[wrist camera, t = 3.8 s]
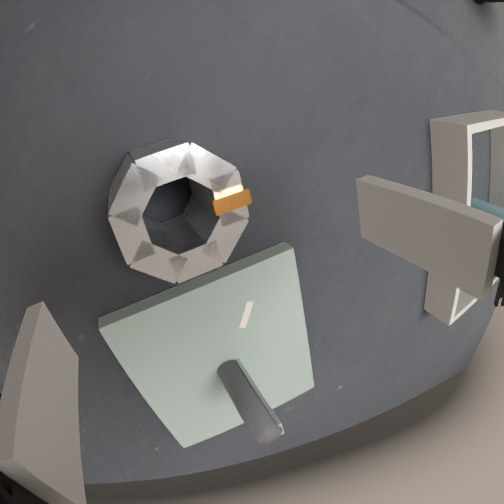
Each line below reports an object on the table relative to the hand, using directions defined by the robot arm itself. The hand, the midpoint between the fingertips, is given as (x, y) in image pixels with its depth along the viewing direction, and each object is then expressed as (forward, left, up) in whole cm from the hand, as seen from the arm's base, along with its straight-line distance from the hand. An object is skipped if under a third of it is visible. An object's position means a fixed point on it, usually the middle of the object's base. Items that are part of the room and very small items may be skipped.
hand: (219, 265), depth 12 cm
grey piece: (0, 0, -11) cm, 11 cm away
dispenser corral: (+37, -13, -11) cm, 41 cm away
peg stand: (0, -16, -11) cm, 19 cm away
